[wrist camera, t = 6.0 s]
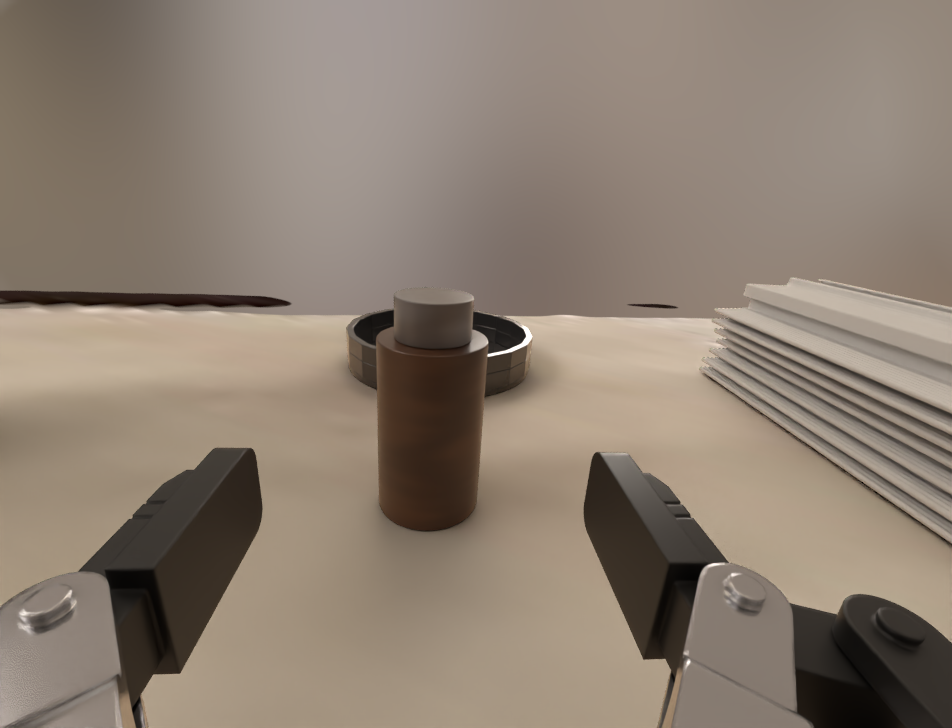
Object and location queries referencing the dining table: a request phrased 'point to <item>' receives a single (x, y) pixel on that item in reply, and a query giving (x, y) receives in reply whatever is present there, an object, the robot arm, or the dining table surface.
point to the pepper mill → (430, 408)
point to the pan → (503, 334)
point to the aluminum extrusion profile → (851, 383)
